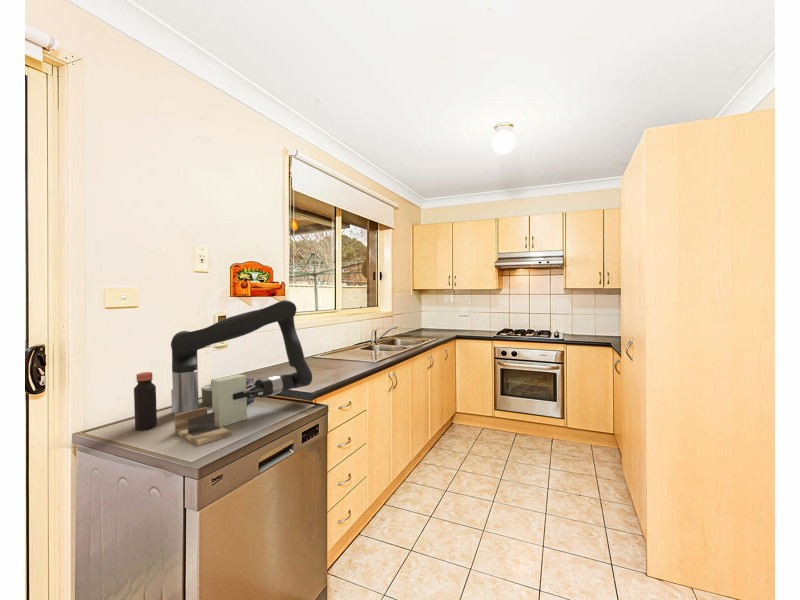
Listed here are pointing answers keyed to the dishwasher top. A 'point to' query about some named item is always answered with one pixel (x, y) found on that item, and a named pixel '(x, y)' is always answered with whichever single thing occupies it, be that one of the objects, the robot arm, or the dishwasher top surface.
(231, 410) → the book
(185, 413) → the rack
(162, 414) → the dishwasher top surface
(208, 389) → the can
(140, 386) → the bottle
